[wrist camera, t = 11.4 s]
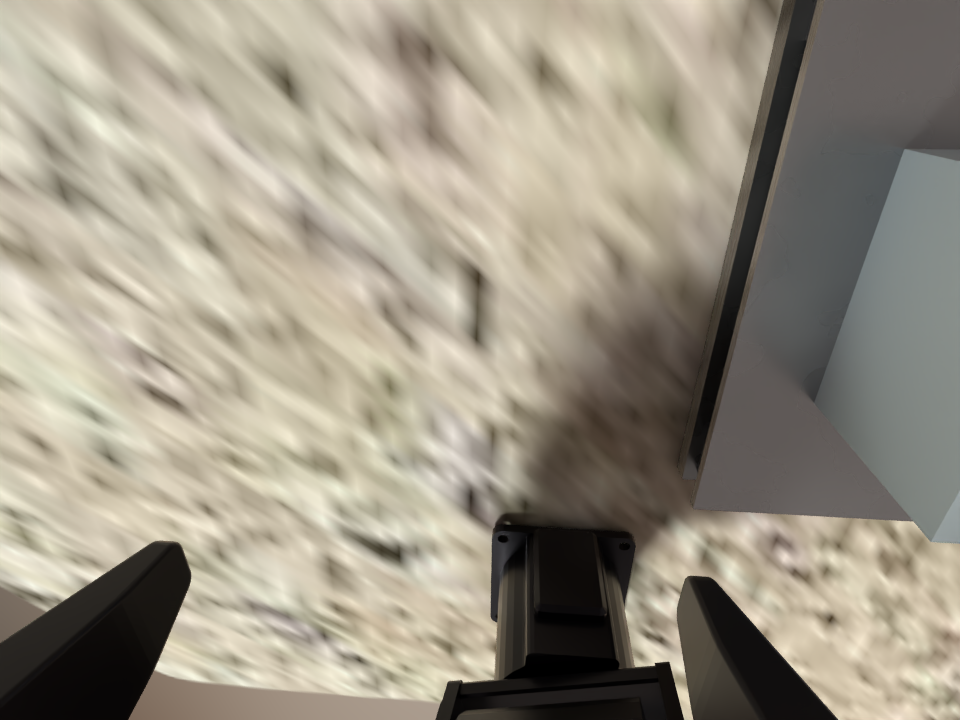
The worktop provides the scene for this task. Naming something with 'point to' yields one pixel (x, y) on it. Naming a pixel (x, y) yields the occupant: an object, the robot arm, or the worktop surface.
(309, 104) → the worktop surface
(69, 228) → the worktop surface
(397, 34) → the worktop surface
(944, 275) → the housing
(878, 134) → the stand
